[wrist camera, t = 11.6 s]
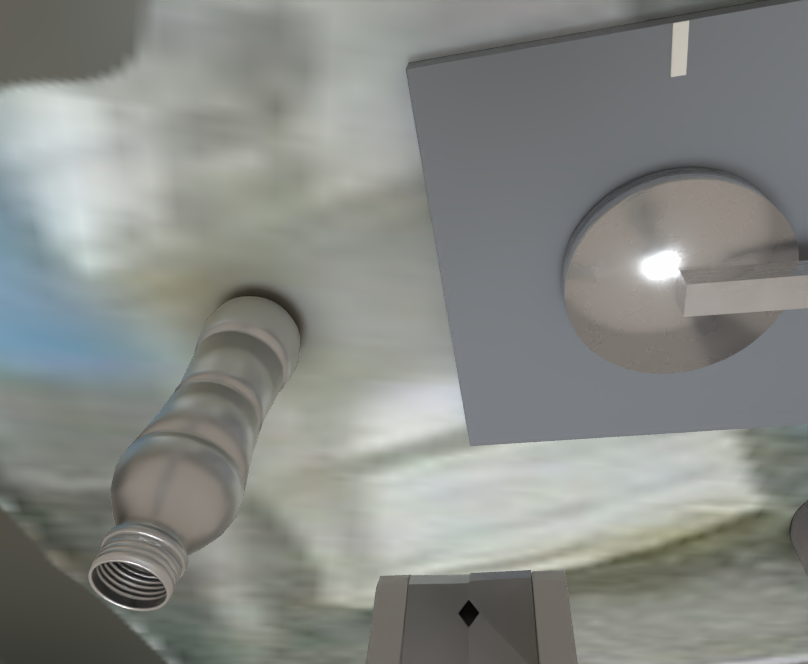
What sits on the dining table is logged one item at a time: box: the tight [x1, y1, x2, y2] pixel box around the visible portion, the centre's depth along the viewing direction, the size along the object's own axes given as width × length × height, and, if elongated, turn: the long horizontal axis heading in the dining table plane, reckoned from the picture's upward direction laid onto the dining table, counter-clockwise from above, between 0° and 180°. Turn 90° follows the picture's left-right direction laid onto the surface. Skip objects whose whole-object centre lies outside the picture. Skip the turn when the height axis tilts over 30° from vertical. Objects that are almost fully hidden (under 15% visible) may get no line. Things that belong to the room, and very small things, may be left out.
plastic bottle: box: [88, 296, 300, 611], centre depth 35 cm, size 6×7×20 cm
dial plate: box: [406, 0, 808, 446], centre depth 37 cm, size 26×26×2 cm
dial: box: [561, 167, 808, 374], centre depth 33 cm, size 18×12×7 cm
